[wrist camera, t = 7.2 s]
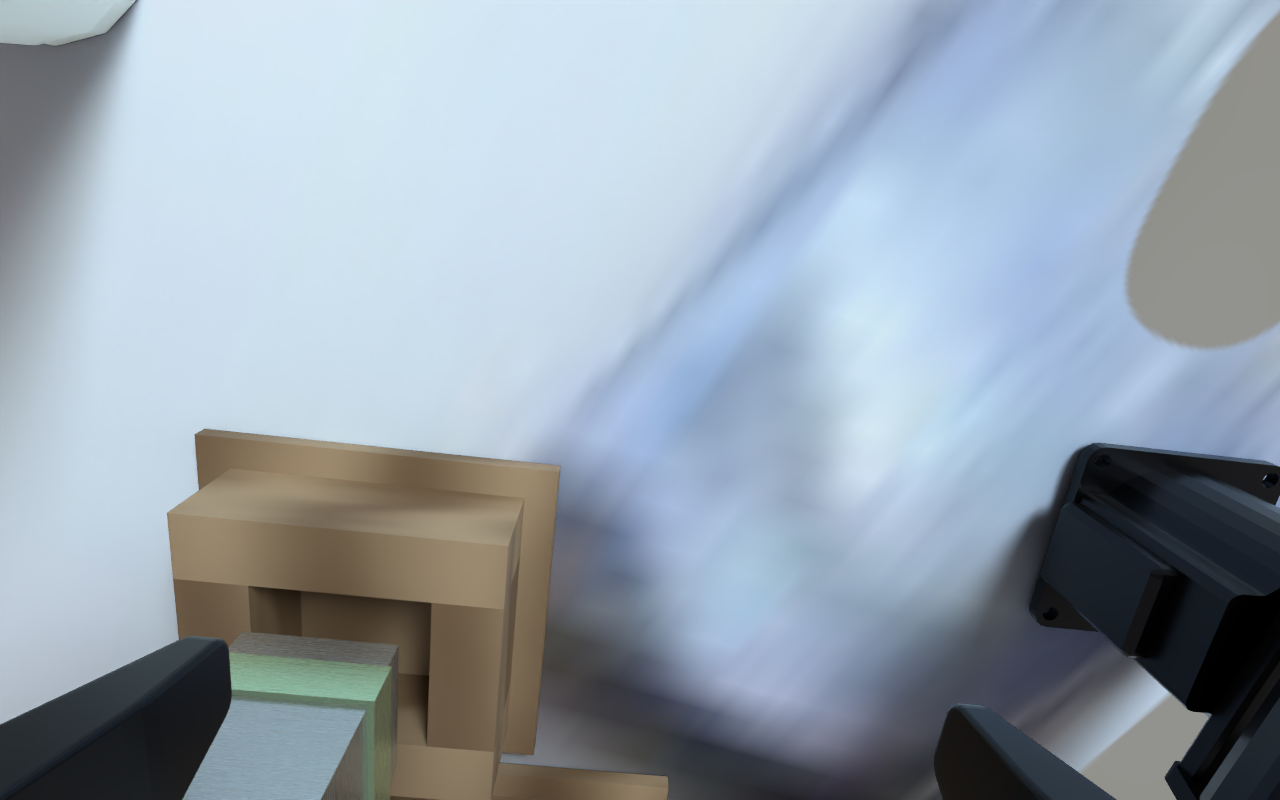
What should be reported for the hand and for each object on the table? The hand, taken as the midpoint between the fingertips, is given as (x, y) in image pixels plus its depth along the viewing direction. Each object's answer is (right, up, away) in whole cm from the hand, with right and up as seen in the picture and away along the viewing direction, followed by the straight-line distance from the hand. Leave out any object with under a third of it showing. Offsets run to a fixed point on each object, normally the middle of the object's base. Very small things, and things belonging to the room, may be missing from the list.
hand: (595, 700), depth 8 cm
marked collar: (-8, -3, +14) cm, 17 cm away
